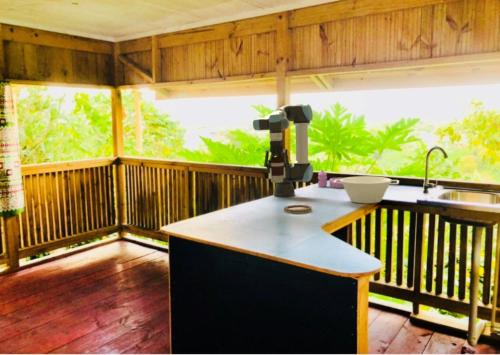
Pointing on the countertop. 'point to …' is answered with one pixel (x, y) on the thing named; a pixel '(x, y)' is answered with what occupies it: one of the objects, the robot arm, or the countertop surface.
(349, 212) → the countertop surface
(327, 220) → the countertop surface
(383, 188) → the pot
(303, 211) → the round tray
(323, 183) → the container set
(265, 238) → the countertop surface
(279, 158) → the coffee cup
